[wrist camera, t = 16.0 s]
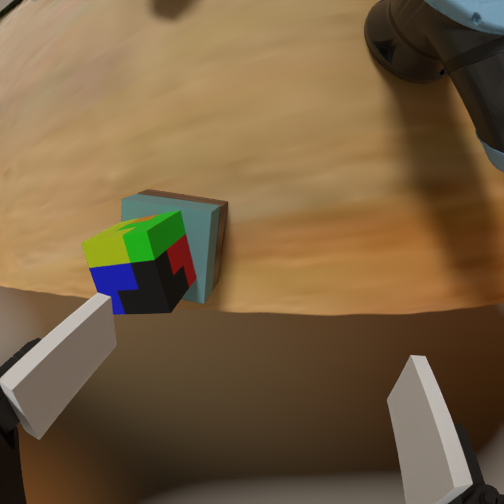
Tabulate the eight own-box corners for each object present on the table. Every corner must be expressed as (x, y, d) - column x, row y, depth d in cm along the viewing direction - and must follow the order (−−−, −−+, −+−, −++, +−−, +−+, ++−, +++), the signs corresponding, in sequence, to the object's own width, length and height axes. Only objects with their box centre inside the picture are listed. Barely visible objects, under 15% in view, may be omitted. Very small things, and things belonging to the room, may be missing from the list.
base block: (150, 188, 50) (137, 192, 46) (229, 200, 49) (221, 206, 44) (147, 263, 55) (136, 272, 51) (219, 279, 54) (212, 291, 49)
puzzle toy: (139, 282, 46) (106, 314, 37) (121, 221, 43) (81, 242, 34) (197, 277, 44) (170, 312, 35) (180, 210, 41) (146, 230, 32)
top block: (136, 193, 46) (121, 199, 42) (220, 205, 44) (211, 212, 40) (136, 273, 51) (123, 284, 47) (212, 290, 49) (203, 304, 45)
